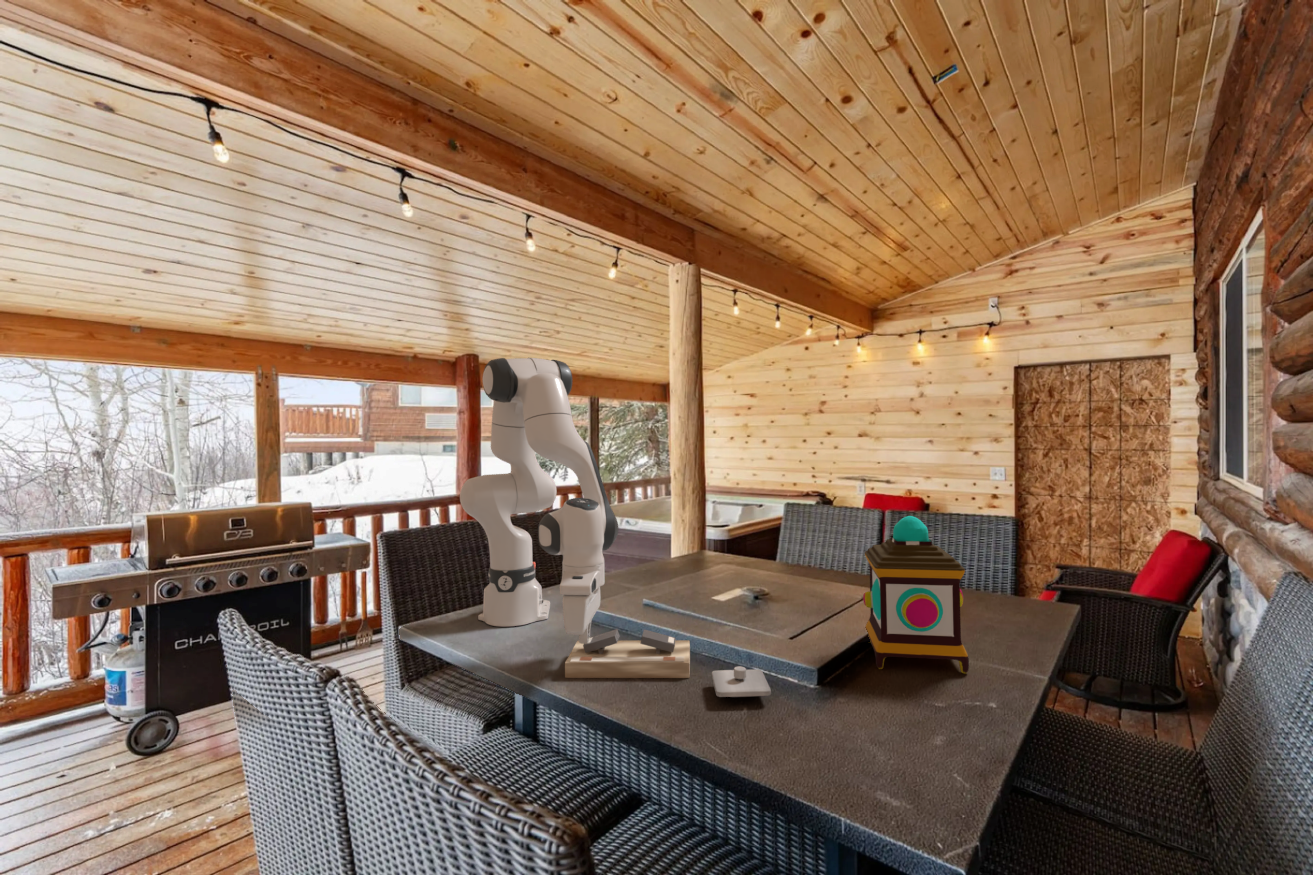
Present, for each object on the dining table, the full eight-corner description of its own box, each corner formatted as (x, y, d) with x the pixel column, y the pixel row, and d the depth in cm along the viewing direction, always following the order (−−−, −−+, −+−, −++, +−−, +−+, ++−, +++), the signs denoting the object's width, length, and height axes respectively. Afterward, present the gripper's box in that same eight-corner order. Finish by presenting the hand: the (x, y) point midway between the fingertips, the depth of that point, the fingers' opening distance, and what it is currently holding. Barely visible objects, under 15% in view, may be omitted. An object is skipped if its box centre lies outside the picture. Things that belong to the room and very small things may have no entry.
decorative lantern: (858, 638, 140) (855, 509, 140) (950, 642, 136) (947, 509, 136) (871, 672, 121) (867, 522, 120) (978, 678, 116) (975, 523, 116)
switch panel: (577, 653, 134) (577, 636, 134) (690, 653, 133) (689, 635, 133) (565, 677, 121) (564, 657, 121) (689, 677, 120) (688, 657, 120)
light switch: (772, 706, 107) (771, 677, 107) (717, 707, 107) (716, 679, 107) (761, 683, 117) (761, 657, 117) (711, 684, 117) (710, 658, 117)
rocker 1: (589, 645, 130) (586, 638, 130) (619, 635, 129) (617, 628, 129) (585, 652, 125) (582, 645, 125) (617, 643, 125) (614, 635, 125)
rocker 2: (642, 636, 129) (643, 628, 129) (673, 644, 129) (675, 637, 129) (640, 643, 125) (642, 635, 125) (673, 652, 124) (675, 644, 124)
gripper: (579, 564, 138) (580, 624, 138) (557, 588, 117) (558, 659, 118) (606, 564, 137) (607, 625, 137) (589, 589, 117) (590, 659, 117)
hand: (584, 641), depth 127 cm, fingers closed, pressing on rocker 1
